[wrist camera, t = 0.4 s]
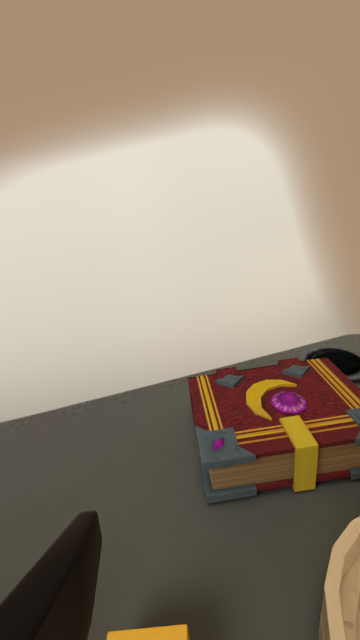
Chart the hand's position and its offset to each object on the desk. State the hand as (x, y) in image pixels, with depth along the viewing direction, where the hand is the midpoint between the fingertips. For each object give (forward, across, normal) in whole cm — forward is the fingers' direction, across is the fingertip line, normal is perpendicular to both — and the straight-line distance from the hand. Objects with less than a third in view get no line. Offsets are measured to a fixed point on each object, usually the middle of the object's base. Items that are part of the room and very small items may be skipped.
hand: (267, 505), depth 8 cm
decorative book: (+18, -7, +11) cm, 23 cm away
